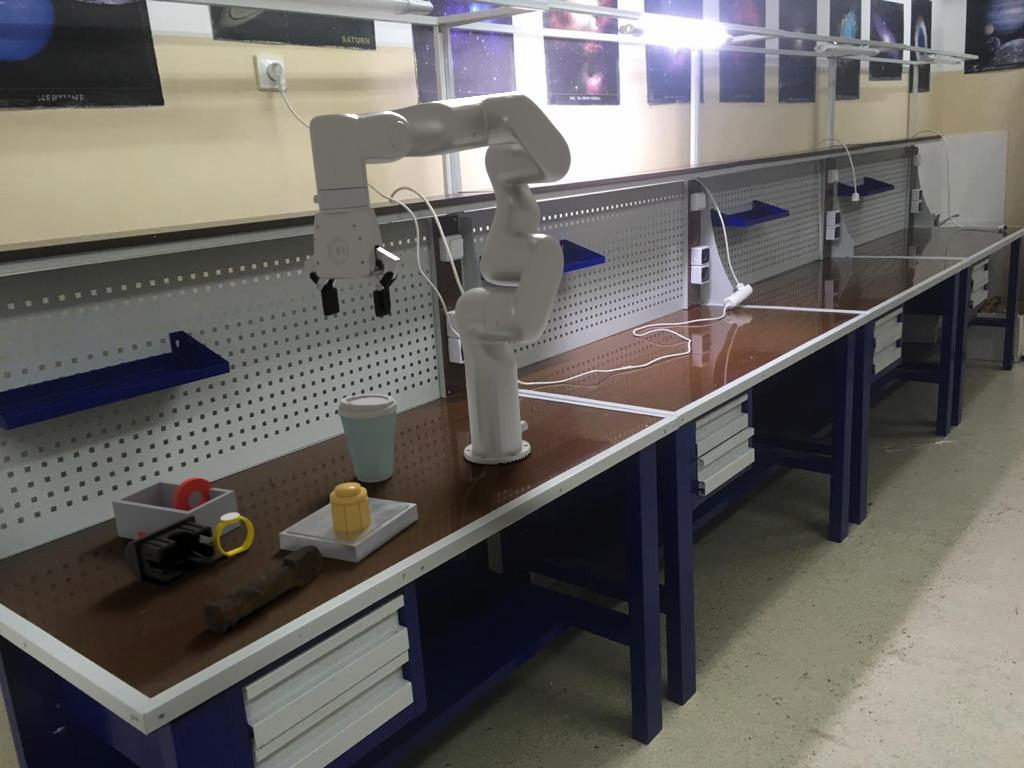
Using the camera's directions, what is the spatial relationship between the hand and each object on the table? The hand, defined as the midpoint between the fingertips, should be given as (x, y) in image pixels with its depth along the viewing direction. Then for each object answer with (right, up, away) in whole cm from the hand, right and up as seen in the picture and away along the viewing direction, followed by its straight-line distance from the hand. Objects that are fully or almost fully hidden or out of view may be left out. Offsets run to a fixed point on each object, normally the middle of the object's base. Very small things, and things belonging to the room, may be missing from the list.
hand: (357, 314), depth 133 cm
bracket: (-29, -34, +6) cm, 45 cm away
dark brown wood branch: (-8, -39, -18) cm, 44 cm away
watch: (-17, -36, -4) cm, 40 cm away
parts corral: (-29, -34, +6) cm, 45 cm away
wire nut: (0, -32, -3) cm, 32 cm away
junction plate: (-1, -34, 0) cm, 34 cm away
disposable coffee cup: (-1, -28, +24) cm, 36 cm away
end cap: (-25, -38, -9) cm, 46 cm away
